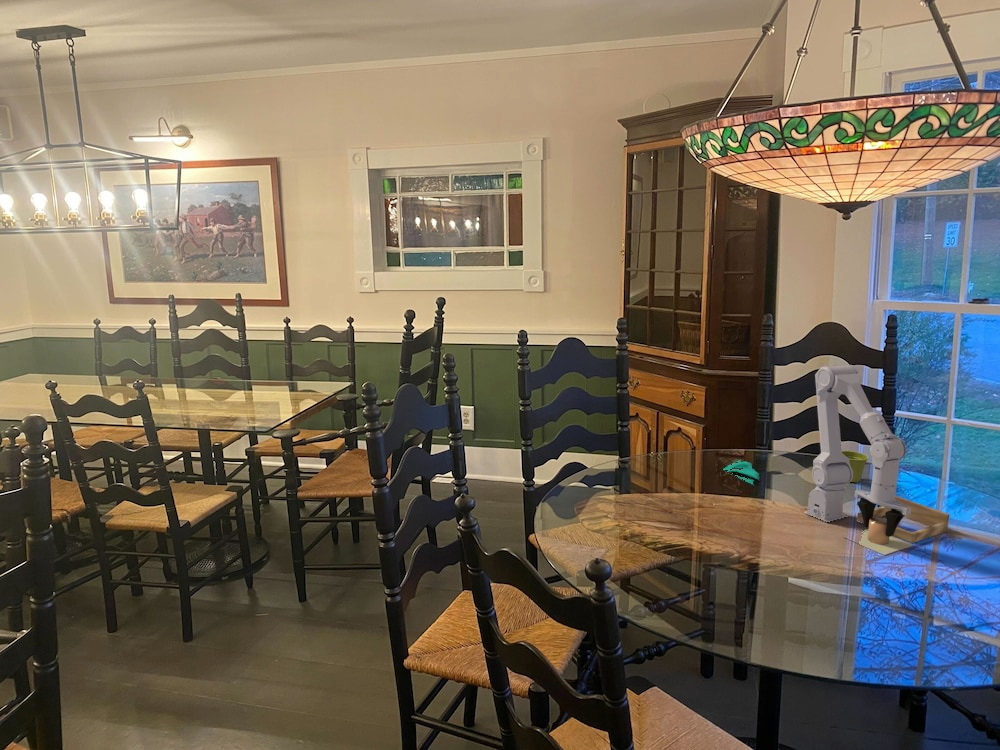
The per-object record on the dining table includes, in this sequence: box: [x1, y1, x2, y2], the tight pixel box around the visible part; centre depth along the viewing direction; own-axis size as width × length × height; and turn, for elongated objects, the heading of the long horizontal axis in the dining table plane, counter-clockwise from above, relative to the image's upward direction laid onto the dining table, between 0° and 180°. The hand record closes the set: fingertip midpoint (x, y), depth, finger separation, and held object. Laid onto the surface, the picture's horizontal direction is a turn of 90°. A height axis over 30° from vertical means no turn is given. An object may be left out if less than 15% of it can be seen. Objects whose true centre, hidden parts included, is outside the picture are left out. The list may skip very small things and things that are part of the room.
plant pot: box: [842, 450, 869, 483], centre depth 230 cm, size 9×9×9 cm
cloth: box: [722, 459, 760, 486], centre depth 239 cm, size 26×14×2 cm, turn 158°
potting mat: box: [858, 528, 914, 556], centre depth 185 cm, size 12×12×1 cm
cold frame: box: [856, 495, 951, 544], centre depth 194 cm, size 16×16×5 cm
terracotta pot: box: [867, 517, 889, 545], centre depth 185 cm, size 5×5×6 cm
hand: (878, 531), depth 184 cm, fingers open, 6 cm apart
